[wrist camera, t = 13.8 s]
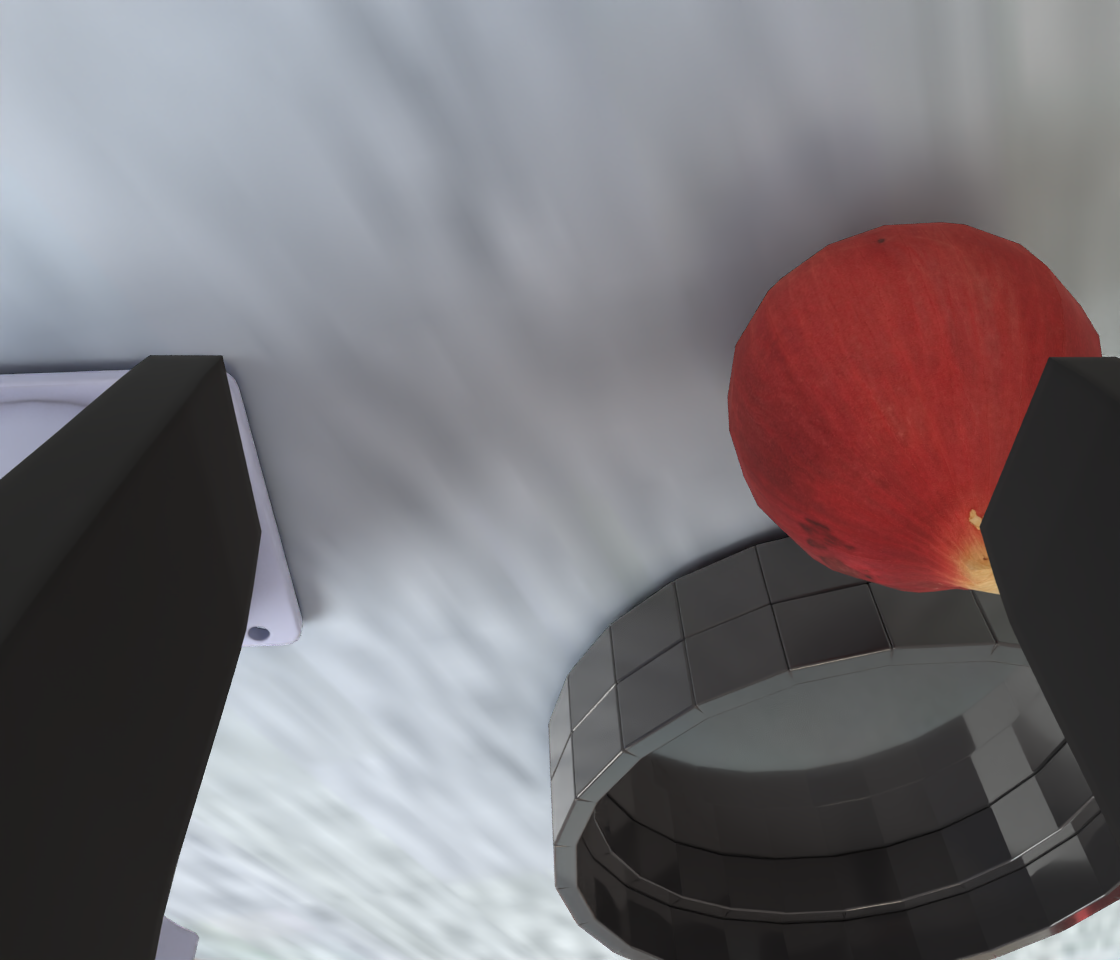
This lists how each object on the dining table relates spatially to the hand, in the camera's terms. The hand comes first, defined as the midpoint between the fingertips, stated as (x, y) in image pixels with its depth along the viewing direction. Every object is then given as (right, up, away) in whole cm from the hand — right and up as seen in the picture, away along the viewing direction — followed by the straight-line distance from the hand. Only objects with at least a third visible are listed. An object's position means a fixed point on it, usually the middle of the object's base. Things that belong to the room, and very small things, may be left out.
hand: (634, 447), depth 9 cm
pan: (+7, -7, +20) cm, 22 cm away
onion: (+5, +3, +11) cm, 12 cm away
